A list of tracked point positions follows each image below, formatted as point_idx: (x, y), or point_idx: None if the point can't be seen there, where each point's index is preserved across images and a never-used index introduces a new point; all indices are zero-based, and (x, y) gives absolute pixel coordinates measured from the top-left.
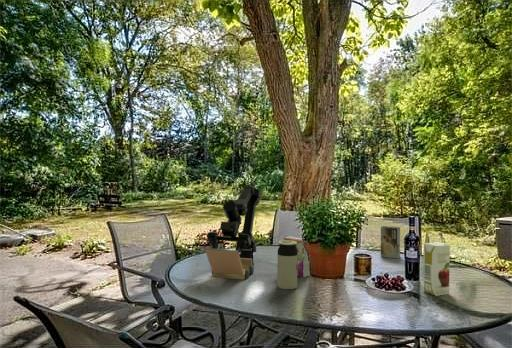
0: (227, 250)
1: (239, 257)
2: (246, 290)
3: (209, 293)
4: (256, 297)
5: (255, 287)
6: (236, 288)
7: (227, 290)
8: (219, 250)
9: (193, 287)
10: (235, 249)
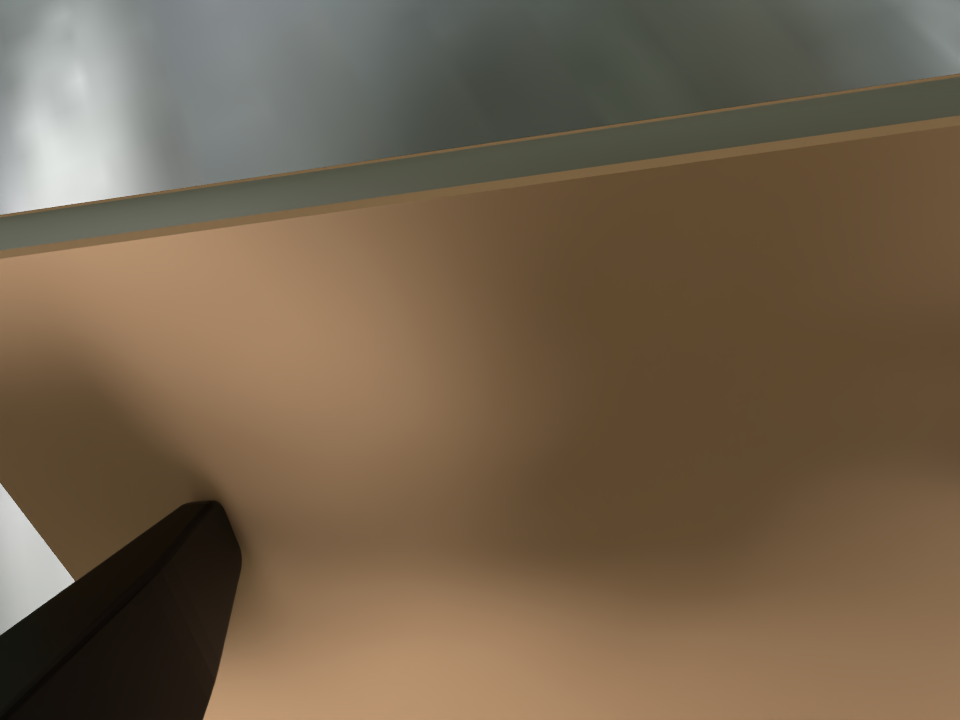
0: (274, 186)
1: (56, 511)
2: None
3: (531, 45)
4: (12, 151)
5: None
6: None
7: None
8: (626, 124)
9: None
10: (58, 652)
